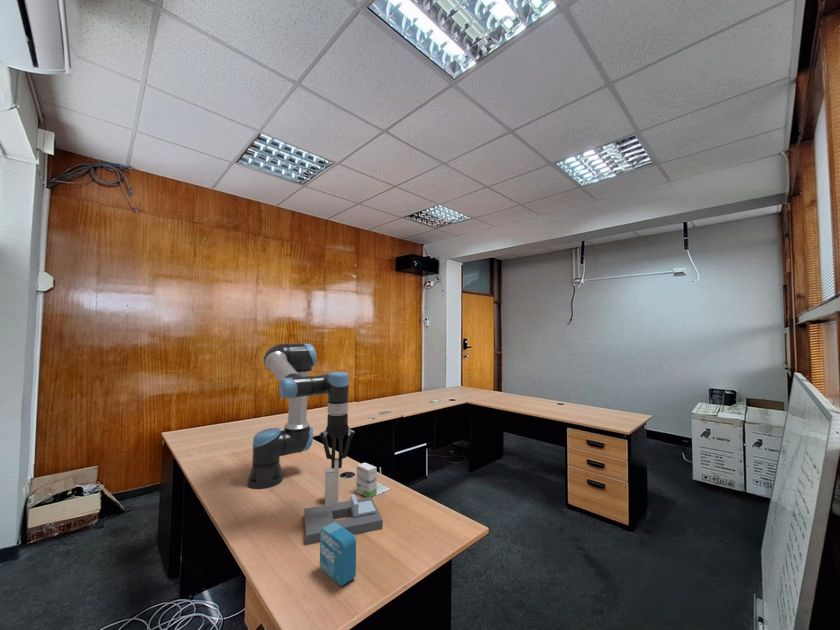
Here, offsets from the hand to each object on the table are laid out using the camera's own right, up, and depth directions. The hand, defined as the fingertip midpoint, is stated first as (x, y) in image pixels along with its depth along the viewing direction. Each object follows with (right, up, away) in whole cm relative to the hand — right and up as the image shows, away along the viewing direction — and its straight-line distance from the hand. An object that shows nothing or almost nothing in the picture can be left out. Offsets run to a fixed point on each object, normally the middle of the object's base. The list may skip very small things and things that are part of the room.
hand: (336, 476), depth 125 cm
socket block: (+3, -16, -2) cm, 16 cm away
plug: (-6, -17, +14) cm, 22 cm away
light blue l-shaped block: (+10, -13, +1) cm, 16 cm away
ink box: (+8, -17, +20) cm, 28 cm away
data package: (+7, -15, -28) cm, 33 cm away
